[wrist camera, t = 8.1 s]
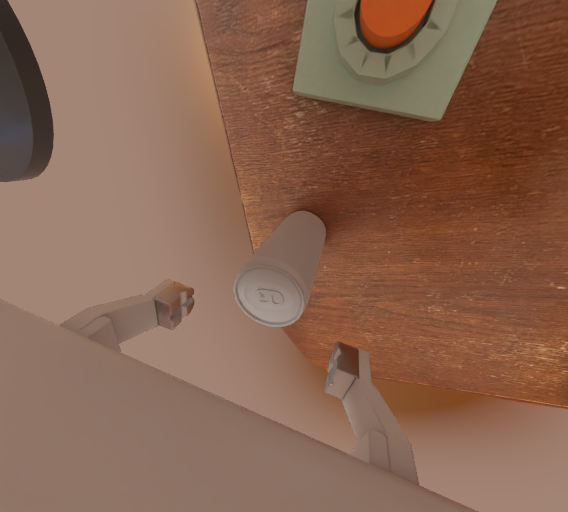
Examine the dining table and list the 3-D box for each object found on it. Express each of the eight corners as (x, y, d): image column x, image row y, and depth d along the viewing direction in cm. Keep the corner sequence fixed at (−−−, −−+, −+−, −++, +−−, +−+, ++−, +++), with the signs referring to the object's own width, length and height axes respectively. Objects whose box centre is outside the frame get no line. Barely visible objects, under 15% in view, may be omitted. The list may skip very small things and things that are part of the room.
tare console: (296, 95, 18) (285, 85, 15) (327, -78, 14) (320, -141, 11) (433, 122, 16) (451, 117, 13) (518, -64, 12) (574, -134, 9)
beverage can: (282, 207, 23) (225, 258, 12) (328, 210, 22) (307, 268, 11) (283, 249, 25) (235, 321, 15) (325, 253, 24) (305, 335, 13)
